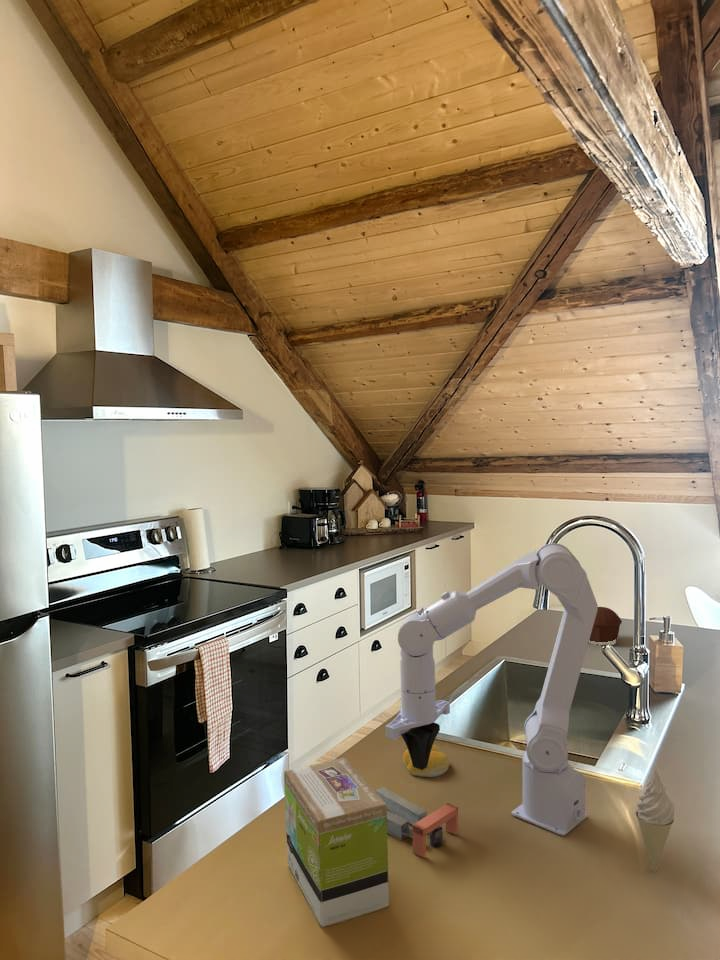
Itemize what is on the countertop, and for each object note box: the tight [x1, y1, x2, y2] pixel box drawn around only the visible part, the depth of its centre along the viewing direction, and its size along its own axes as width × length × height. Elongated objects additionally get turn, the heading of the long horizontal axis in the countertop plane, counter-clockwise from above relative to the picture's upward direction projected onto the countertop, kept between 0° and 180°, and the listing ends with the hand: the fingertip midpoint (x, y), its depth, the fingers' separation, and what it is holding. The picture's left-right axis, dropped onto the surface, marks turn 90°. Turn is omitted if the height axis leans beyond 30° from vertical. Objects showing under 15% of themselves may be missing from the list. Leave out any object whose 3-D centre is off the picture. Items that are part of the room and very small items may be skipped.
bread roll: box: [402, 744, 450, 778], centre depth 135 cm, size 8×9×4 cm
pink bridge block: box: [412, 802, 459, 858], centre depth 110 cm, size 2×9×4 cm, turn 136°
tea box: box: [283, 757, 390, 928], centre depth 100 cm, size 15×10×15 cm, turn 23°
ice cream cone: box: [635, 768, 675, 873], centre depth 102 cm, size 5×5×15 cm
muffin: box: [589, 606, 623, 642], centre depth 211 cm, size 12×11×10 cm
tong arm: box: [374, 786, 428, 826], centre depth 118 cm, size 14×2×2 cm, turn 39°
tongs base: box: [387, 810, 444, 849], centre depth 115 cm, size 16×4×2 cm, turn 46°
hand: (419, 766), depth 121 cm, fingers closed
